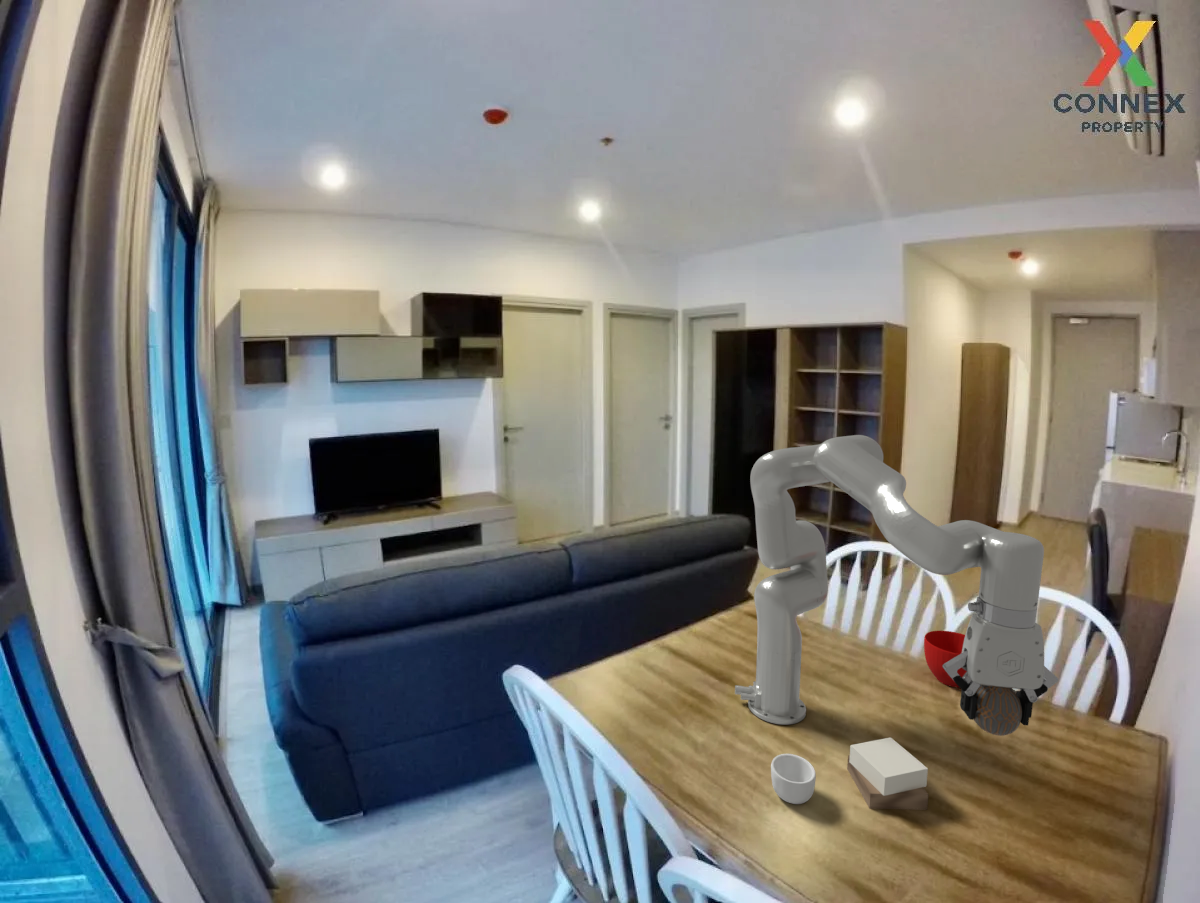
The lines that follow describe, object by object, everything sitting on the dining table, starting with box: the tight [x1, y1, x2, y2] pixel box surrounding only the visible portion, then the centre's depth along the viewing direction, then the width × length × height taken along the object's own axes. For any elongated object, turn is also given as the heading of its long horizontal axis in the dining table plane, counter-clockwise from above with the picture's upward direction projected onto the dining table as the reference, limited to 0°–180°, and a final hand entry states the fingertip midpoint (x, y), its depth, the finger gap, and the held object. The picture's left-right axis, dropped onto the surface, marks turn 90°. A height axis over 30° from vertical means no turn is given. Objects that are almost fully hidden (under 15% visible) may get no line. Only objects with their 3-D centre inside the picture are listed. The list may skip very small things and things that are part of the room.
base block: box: [846, 754, 929, 811], centre depth 106 cm, size 10×10×4 cm
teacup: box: [770, 753, 817, 805], centre depth 105 cm, size 10×8×5 cm
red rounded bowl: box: [923, 630, 967, 688], centre depth 143 cm, size 13×17×10 cm
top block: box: [849, 737, 929, 796], centre depth 105 cm, size 9×9×4 cm
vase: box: [973, 685, 1022, 737], centre depth 92 cm, size 7×7×9 cm
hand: (994, 716), depth 92 cm, fingers closed on vase, 6 cm apart
